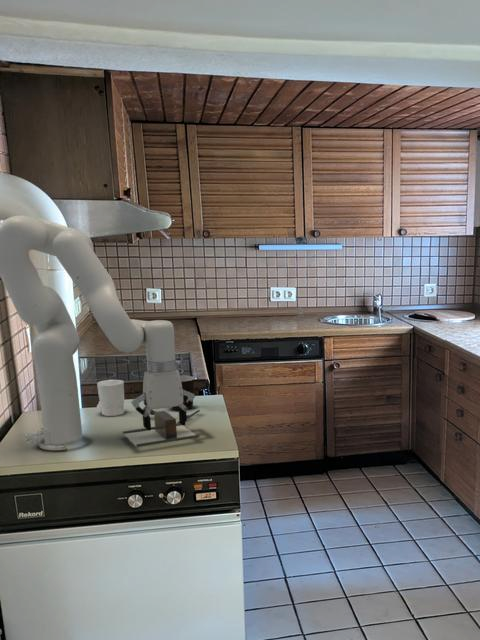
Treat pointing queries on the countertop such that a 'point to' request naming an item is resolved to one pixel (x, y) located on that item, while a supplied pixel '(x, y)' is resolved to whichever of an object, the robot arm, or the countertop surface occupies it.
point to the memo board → (156, 436)
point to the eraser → (165, 425)
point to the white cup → (111, 397)
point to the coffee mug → (186, 389)
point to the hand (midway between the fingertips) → (165, 426)
